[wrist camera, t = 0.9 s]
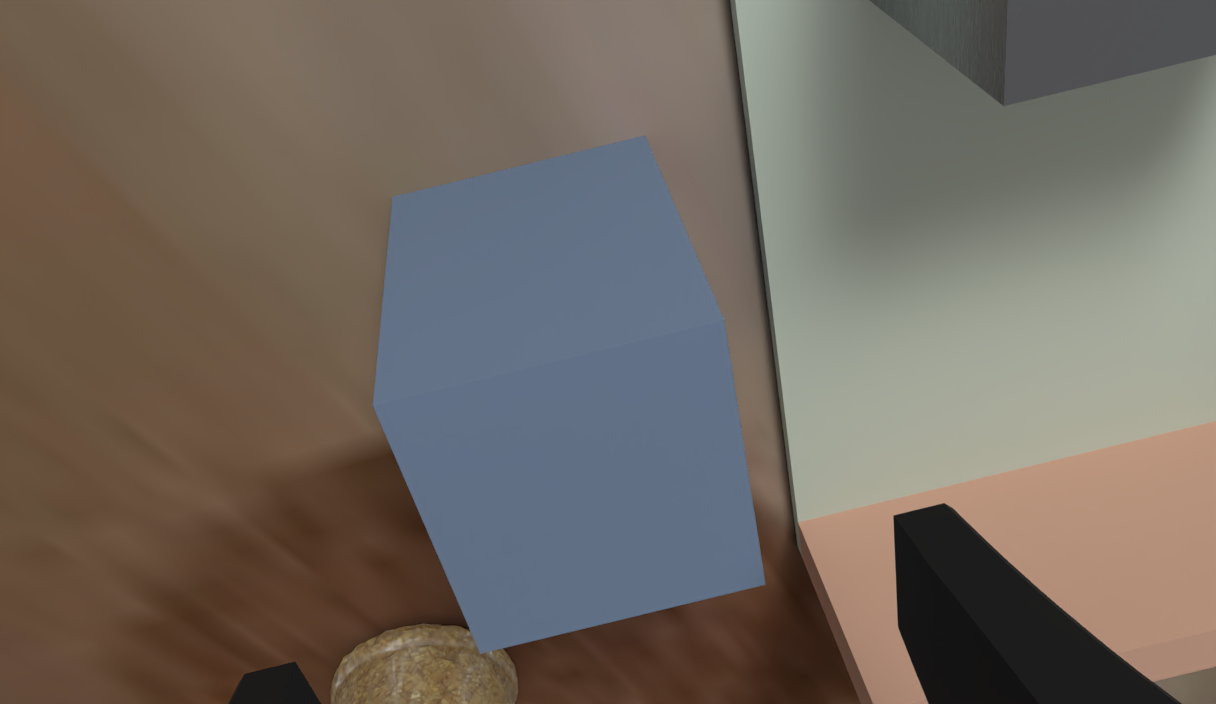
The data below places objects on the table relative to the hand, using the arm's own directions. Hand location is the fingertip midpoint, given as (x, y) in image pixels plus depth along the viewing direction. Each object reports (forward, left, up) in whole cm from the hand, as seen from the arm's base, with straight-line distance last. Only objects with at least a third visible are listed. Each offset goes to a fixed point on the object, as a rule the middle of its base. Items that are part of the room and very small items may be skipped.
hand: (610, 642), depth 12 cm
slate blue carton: (0, 0, -8) cm, 8 cm away
